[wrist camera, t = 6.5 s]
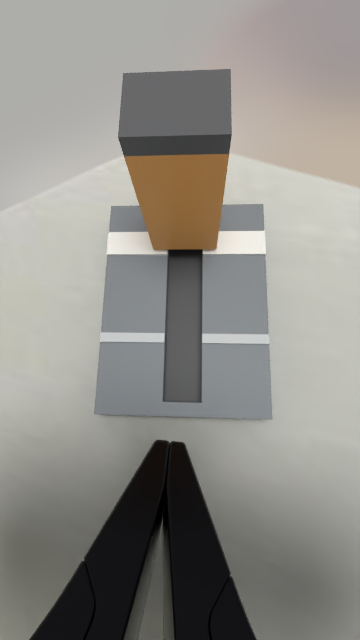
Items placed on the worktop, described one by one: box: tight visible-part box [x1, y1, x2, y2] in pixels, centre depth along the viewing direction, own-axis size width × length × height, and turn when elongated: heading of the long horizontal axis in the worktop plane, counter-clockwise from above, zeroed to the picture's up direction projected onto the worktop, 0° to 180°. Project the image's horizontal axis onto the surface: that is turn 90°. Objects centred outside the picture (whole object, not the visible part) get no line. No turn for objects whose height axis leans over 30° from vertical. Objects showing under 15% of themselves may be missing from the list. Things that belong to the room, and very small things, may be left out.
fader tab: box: [118, 69, 232, 250], centre depth 14 cm, size 2×4×9 cm
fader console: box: [94, 204, 272, 419], centre depth 17 cm, size 12×9×1 cm
